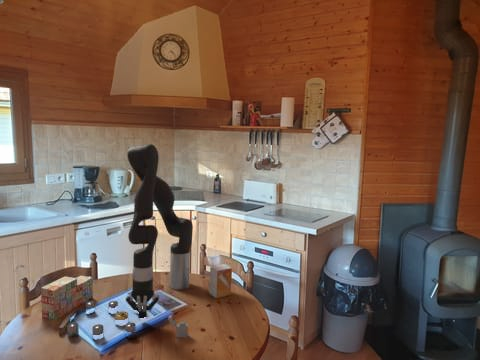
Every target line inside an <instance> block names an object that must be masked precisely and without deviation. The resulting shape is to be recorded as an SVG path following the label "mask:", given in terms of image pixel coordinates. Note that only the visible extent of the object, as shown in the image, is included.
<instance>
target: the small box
mask: <svg viewBox="0 0 480 360" xmlns="http://www.w3.org/2000/svg"><path fill="white" fill-rule="evenodd" d="M232 272H233V268H232V267H231V266H229V265H228V264H226V263H222V264H217V265H212V266H210V268H209V289H208V290H209V291H208V292H209V295H210V296H212V297H214V298H215V299H218V298H222V297H227V296H230V295H232V293H231V291H232V275H233V273H232Z"/></svg>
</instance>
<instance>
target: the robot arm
mask: <svg viewBox="0 0 480 360" xmlns="http://www.w3.org/2000/svg"><path fill="white" fill-rule="evenodd" d="M159 160H160V159H159V152H158V149H157V147H156V146H155V145H154V144H152V143H151V144H150V143H149V144H144V145H137V146H133V147H130V148H128V150H127V161H128V162H129V165H130V167H131V169H132V170H133V172H134V173H135V174H136V176H137V177H138V178H139V180H140V181H141V183H140V185H139V187H138V189H137V190H136V193H135V195H134V202H133V203H134V206H133V207H134V209H133V219H132V222H131V225H130V227H129V231H128V236H127V237H128V241H129V242H130V244H131V245H146V246H145V247H142V248H138V249H136V250H135V251H134V252H133V257H132V259H133V261H132V262H133V263H132V264H133V265H132V266H133V267H132V275H131V278H132V291H131V293H130V294H129V295H127V296H126V297H125V302H126V303H127V304H128V305H129V306H130V307H131V308H132V310H133V311H134V310H137V311H138V312H139V314H138V319H139V318H144V317H146V318H147V313H148V312H147V311H151V310H152V309H153V308H154V306H155V305H157V302H159V300H160V295H158V294H155V291H154V268H153V261H154V260H153V259H154V258H153V257H154V249H155V246H156V244H157V243H156V242H157V239H158V235H159V231H158V228H157V227H156V225H154V224H143V225H142V224H141V225H140V223H142V222H144V221H147V220H151V219H152V218H153V216H154V205H155V207H156V209H157V211H158V213H159V215H160V217H161V219H162V221H163V223H164V227H165V228H166V231H167V233H168V234H169V235H170V236H172V237H174V238H178V242H176V243H172V244H171V245H170V249H169V250H170V257H169V260H170V261H169V262H170V263H169V264H170V265H169V288H170V289H172V290H177V291H181V290H182V291H183V290H186V289H189V288H190V279H191V278H190V274H191V272H190V271H191V263H190V262H191V247H192V243H193V240H192V239H193V232H194V229H193V222H192V221H191V219H189V218H183V217H179V216H177V215H176V213H175V211H174V208H173V207H174V204H175V195H174V193H173V191H172V189H171V187H170V185H169V184H168V183H167V182H166V181H165V180H163V179H162V178H161V177H159V176H157V174H158V167H159ZM151 299H152V300H151ZM150 300H151V302H150ZM135 302H137V304H136V303H135ZM148 302H150V303H149V304H148ZM142 303H143V309H142Z"/></svg>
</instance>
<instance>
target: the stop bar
mask: <svg viewBox="0 0 480 360" xmlns="http://www.w3.org/2000/svg"><path fill="white" fill-rule="evenodd" d="M76 312H77V313H78V307H76V308H73V309H72V310H71V311H69V312H68V313H67V316H65V318H64V320H63V321H62V322H61V324H60V325H59V326H58V335H64V334H65V332H66V331H67V325H68V324H70V318H71V317H72V316H73V315H74V314H75V313H76Z"/></svg>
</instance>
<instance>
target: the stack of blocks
mask: <svg viewBox="0 0 480 360" xmlns="http://www.w3.org/2000/svg"><path fill="white" fill-rule="evenodd" d="M93 286H94V285H93V277H91V276H86V275H79V276H77V277H72V276H70V277H69V276H65V275H64V276H63V277H60V278H59V279H57V280H56V279H55V280H54V281H53V282H51V283H48V284H45V285H43V286H42V287H41V288H40V291H41V297H40V299H41V300H40V301H41V317H42V318H45V319H50V320H53V321H56V320H57V319H58V318H59V319H60V318H62V317H63V316H64V315H66V314H69V313H70V311H71V310H72V309H73V308H78V307H79V306H80V305H82V304H85V303H86V302H88V301H90V300H91V299H92V298H93V297H94V296H93V295H94V294H93V293H94V290H93V289H94V287H93Z"/></svg>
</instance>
